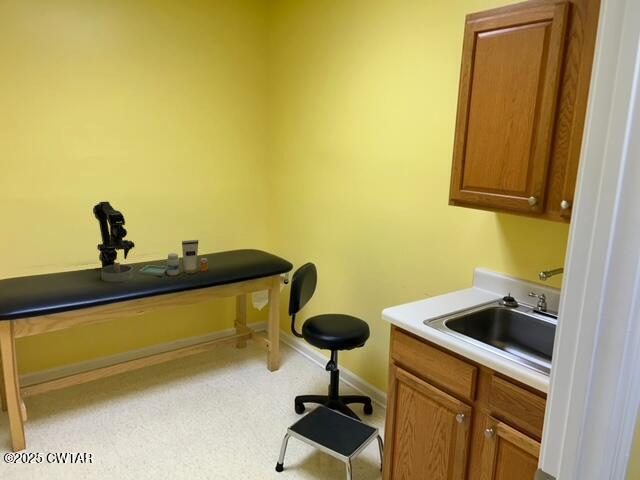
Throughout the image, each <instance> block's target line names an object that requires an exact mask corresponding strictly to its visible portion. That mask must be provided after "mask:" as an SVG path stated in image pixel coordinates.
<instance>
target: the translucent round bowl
mask: <svg viewBox="0 0 640 480" xmlns="http://www.w3.org/2000/svg"><path fill="white" fill-rule="evenodd" d="M100 271H101V280H102V281H105V282H113V283H117V282H125V281H128V280H131V279H132V278H134V267H133V266H132V265H129V264H121V263H120V273H115V271H114V265H110V266H105V267H104V268H102V267H101V269H100Z"/></svg>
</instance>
